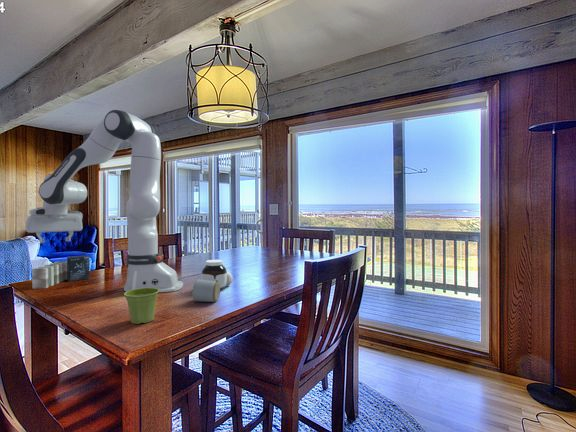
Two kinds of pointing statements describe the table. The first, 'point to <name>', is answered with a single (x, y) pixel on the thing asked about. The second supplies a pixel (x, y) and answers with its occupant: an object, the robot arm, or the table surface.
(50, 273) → the domino
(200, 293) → the ceramic mug
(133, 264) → the robot arm
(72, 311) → the table surface
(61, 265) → the domino
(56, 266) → the domino
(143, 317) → the plant pot
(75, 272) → the box
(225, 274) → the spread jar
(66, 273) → the end domino
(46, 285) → the domino
